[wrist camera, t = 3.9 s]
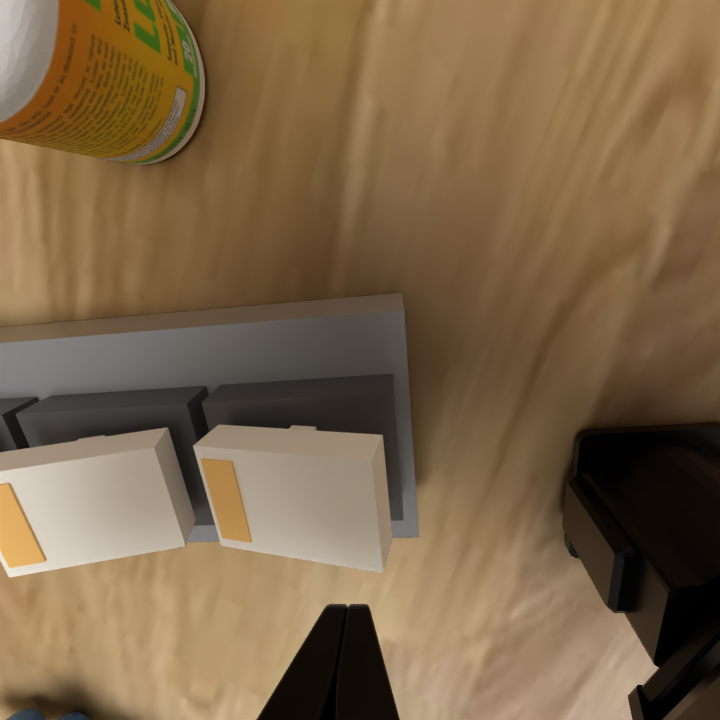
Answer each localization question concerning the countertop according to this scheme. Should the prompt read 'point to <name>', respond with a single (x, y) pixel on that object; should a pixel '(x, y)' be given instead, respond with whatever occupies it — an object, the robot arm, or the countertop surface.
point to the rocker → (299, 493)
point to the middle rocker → (91, 501)
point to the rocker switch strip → (218, 382)
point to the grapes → (34, 719)
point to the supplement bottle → (99, 77)
